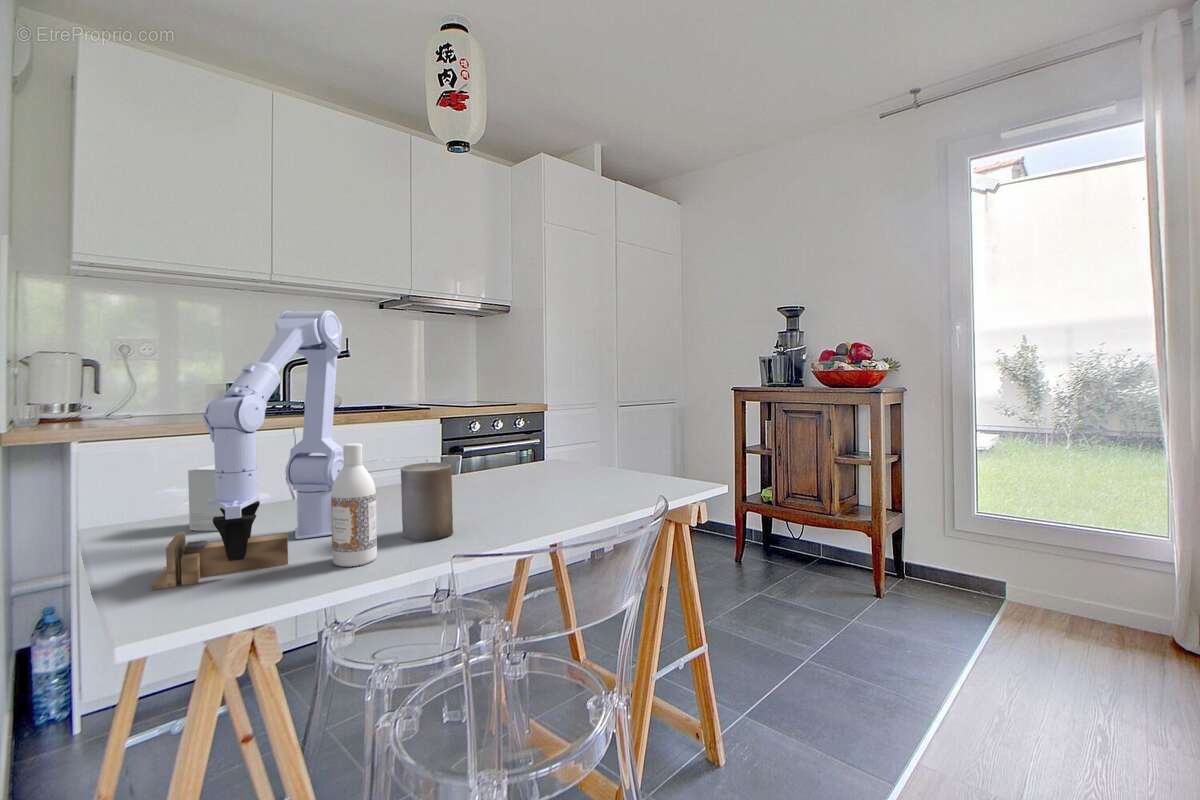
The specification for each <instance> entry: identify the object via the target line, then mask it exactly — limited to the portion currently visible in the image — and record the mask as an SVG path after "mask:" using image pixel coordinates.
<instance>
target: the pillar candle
mask: <svg viewBox="0 0 1200 800" xmlns="http://www.w3.org/2000/svg"><path fill="white" fill-rule="evenodd" d="M428 461H429V460H428V459H426V462H421V463H420V462H419V463H412V464H408V465H403V466H401V467H400V469H399V470H400V487H401V489H400V490H401V520H402V523H401V524H402V537H403V539H406V540H409V541H412V542H429V541H435V540H442V539H444V538H446V537H450V536H452V535H453V534H454V530H453V529H454V526H453V525H454V517H453V516H454V515H453V481H452V479H453V476H452V474H453V473H452V464H451V463H448V462H447V463H446V462H434V461H433V462H428Z"/></svg>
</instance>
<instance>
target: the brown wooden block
mask: <svg viewBox="0 0 1200 800" xmlns="http://www.w3.org/2000/svg"><path fill="white" fill-rule="evenodd" d="M288 537H289V536H288V533H280V534H272V535H264V536H256V537H254V536H253V537H250V538H248V544H247V551H246V555H245V558H244V559H242V560H235V561H229V560H228V557H227V554H226V551H225V547H224V543H223V540H222V541H215V542H214V541H213V542H207V539H205V540H204V539H203V540H196V541H189V542H187V543H186V547H185V549H184V555H185V554H193V553H199V555H200V578H202V577H210V576H211V577H212V576H218V575H224V574H223V573H225V574H230V573H229V572H232V573H236V572H235V571H239V572H245V571H244V570H246V571H251V570H252V569H253V570H258V569H257V568H260V569H265V567H267V568H271V567H270V566H274V567H278V566H277V565H281V566H285V565H284V564H288V565H289V548H288V547H289V545H288V544H289V543H288V541H289V540H288Z"/></svg>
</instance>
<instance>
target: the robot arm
mask: <svg viewBox="0 0 1200 800" xmlns="http://www.w3.org/2000/svg"><path fill="white" fill-rule="evenodd" d="M274 328H275V334H274V335H273V337H272V339H271V341H270V343H269V345H267V347H266V349H265V350H264V352H263V353H262V356H261V358H260V359H259V360H258V362H250V363H248V364H245V365H244V366H243V367H242V369H241V373H240V374H239V375H238V376H237V377H236V379H235V380H234V381H233V383H232V384H231V385H230V387H229V388H228V389H227V391H226V392H225V393H224V394H223V396H218V397H216V398H214V399H213V400H212V401H210V402H209V403H208V404H207V406H206V408H205V414H202V419H203V423H204V425H205V427H206V428H207V429H208V431H209V438H210V439H209V440H211V442H212V444H213V447H214V448H213V450H214V452H213V453H214V465H215V484H216V498H210V499H208V500H207V505H213V504H214V505H217V506H219V507H220V510H221V512H222V513H223V515H224V516H219V517H214V518H213V524H214V526H215V527H216V528H217V530H218V531H217V532H218V533H219V535H220V537H221V540H222V541H223V543H224V547H225V551H226V554H227V557H228V560H229V561H235V560H242V559H244V558H245V555H246V551H247V544H248V538H251V536H252V535H251V534H252V529H253V528H252V527H253V524H254V522H255V520H256V517H257V514H256V513H257V511H258V508H259V507H260V504H261V501H259V500H260V494H259V492H258V488H259V487H258V484H259V483H258V463H257V462H258V459H257V454H258V453H257V430H259V429H260V427H261V426H263V425H264V421H265V416H266V409H267V406H268V404H267V402H268V401H269V399H270V398H271V396H272V395H273V394H274V392H275V391H276V390H277V388H278V386H279V385H280V383H281V376H280V374H279V373H280V371H281V370H282V369H283V368H284V367H285V365H286V364H287V363H288V362H289V360H291V359H292V357H293V356H294V355H295V353H297V355H301V356H303V357H304V359H305V360H306V361H307V372H306V373H307V374H306V386H305V387H306V389H305V399H304V400H305V401H304V412H303V413H304V415H303V429H302V431H303V432H302V439H301V440H300V441H299V442H298V443H296V444H295V445H293V447H292V448H291V449H290V453H289V459H288V461H287V463H286V466H285V469H284V470H285V471H284V472H285V478H286V480H287V482H288V484H289V485H291V486H292V490H293V491H296V513H297V514H296V515H297V516H296V521H297V523H296V525H297V527H295V528H294V529H295V532H294V533H295V534H294V535H295V537H294V538H295V540H302V539H303V540H304V539H309V538H317V537H327V536H332V513H331V492H332V487H333V484H334V481H335V479H336V477H337V476H338V474H339V473H340V471H341V470H342V468H343V467H344V454H343V447H341V446H340V445H339V444H337V442H336V441H334V440H333V430H334V429H333V428H334V427H333V426H334V425H333V424H334V413H335V412H334V411H335V395H336V384H337V383H336V382H337V381H336V380H337V367H338V365H337V364H338V356H339V355H340V354H341V349H342V348H341V347H342V333H343V325H342V323H341V322H340V320H339V318H338V316H337V315H336V313H335V312H333V311H332V310H328V309H327V310H324V311H323V310H322V311H321V310H318V311H315V310H314V311H313V310H312V311H310V310H309V311H306V310H305V311H292V310H285V311H283V312H282V313H281V314H280V315H279V317H278V319H277V320H276V321H275V322H274ZM311 454H323V455H311Z"/></svg>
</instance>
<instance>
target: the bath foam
mask: <svg viewBox="0 0 1200 800" xmlns="http://www.w3.org/2000/svg"><path fill="white" fill-rule="evenodd" d="M342 448H343V454H344V467H343V468H342V470H341V471H340V473H339V474H338V476H337V477H336V479H335V481H334V484H333V487H332V492H331V513H332V535H331V543H332V544H331V545H332V546H331V547H332V549H331V550H332V562H333V564H334V565H336V566H338V567H343V568H345V567H346V568H353V567H359V565H360V566H363V565H367V564H369V563H372V562H374V561H375V560H376V559H377V557H378V536H377V535H378V534H377V533H378V532H377V531H378V529H377V525H378V524H377V522H378V521H377V520H378V519H377V492H376V491H377V490H376V485H375V482H374V479H373V478H372V476H371V474H370V473H369V471H368V470H367V469H366V467H365V466H364V465H363V444H362V443H359V442H358V443H356V442H353V443H345V444H343V447H342ZM352 566H353V567H352Z"/></svg>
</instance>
